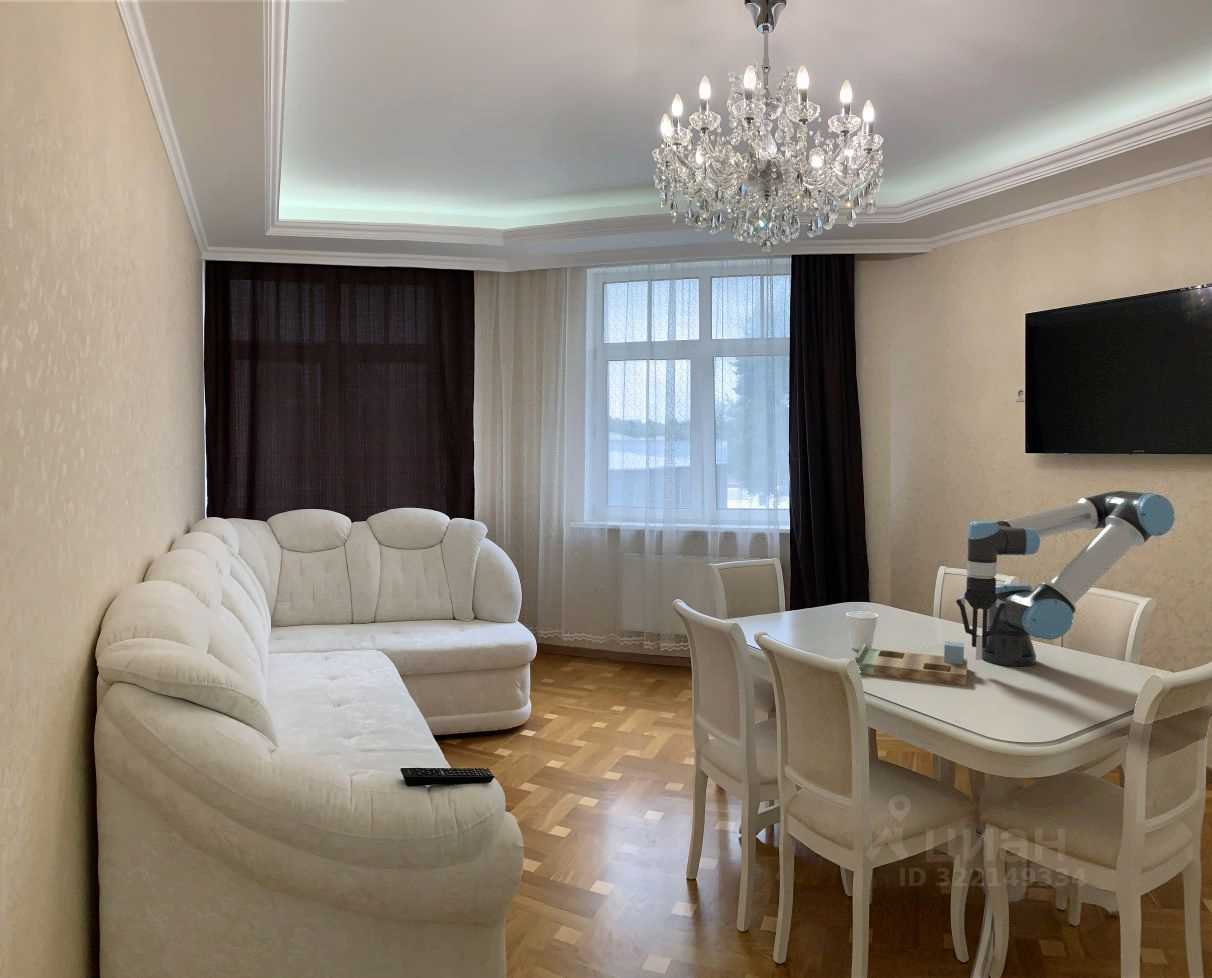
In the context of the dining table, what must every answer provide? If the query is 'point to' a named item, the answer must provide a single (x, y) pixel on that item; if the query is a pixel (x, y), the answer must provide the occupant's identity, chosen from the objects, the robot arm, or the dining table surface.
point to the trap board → (910, 666)
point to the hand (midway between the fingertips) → (978, 658)
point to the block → (953, 652)
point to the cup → (861, 628)
